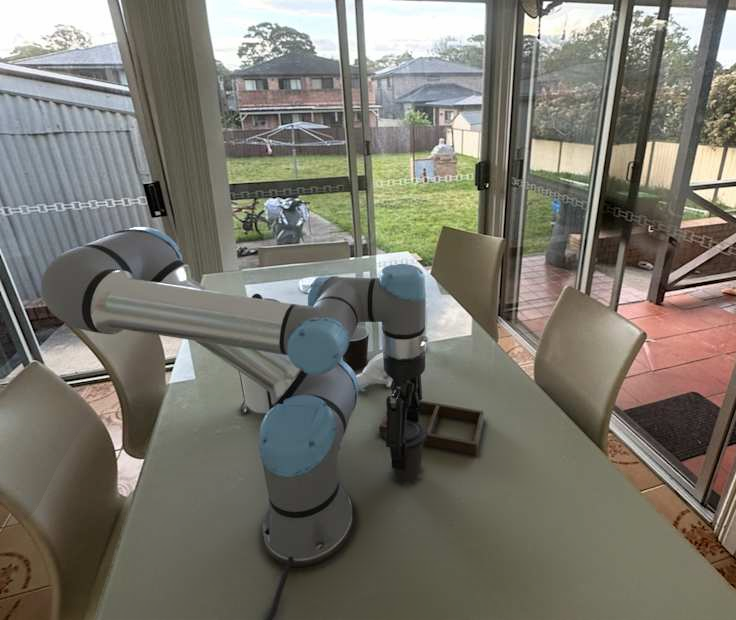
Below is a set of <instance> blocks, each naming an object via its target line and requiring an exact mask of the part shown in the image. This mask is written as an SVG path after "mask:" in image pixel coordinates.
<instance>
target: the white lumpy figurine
mask: <svg viewBox="0 0 736 620" xmlns="http://www.w3.org/2000/svg"><path fill="white" fill-rule="evenodd" d="M356 377H357V380H358V392H363V393H365V392H366V387H368V386H371V385H376V384H377V385H378V384H379V385H385V387H386V388H391V384H392V380H393V379H392V378H391V377H390V376H388V375H387V374H386V373H385V371H384V362H383V352H380V353H378V354H376V355H375V356H373V358H371V359H370V360H369V361H368V362H367V364H366V366H365V367H364V368H363V370H362V372H361V373H359V374H357V375H356Z"/></svg>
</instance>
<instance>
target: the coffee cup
mask: <svg viewBox="0 0 736 620" xmlns="http://www.w3.org/2000/svg"><path fill="white" fill-rule="evenodd" d="M386 431H387V430H386ZM426 431H427V429H426V428H425V427H424V426H423V425H422V423H420V422H419V423H418V422H416V421H413V420H406V428H405V437H404V440H406V458H407V468H406V471H404V470H400V469H395V468H392V471H393V474H394V476H395V477H396V478H398V480H402V481H410V480H413V479H415V478H416V477H418V476H419V475H420V472H421V464H422V458H423V450H424V445H423V443H424V441H425V440H426V437H427V433H426ZM385 439H386V433H385ZM389 452H390V453H389V454H390V455H391V448H389Z"/></svg>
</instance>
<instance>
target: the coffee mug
mask: <svg viewBox="0 0 736 620" xmlns="http://www.w3.org/2000/svg"><path fill="white" fill-rule="evenodd" d="M369 336H370V332H369V330H368V328H366V327H365V326H360V325H357V327H356V329H355V331H354V333H353V335H352V337H351V340H350V342H349V346H348V348H347V351H346V353H345V354H344V355H343V357H342V361H344V362H345V363H347V364H348V365H349V366H350V367H351V368H352V370H353V371H359V370H362V369H364V368H365V367H366V366H367V365H368V350H369V338H370V337H369Z"/></svg>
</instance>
